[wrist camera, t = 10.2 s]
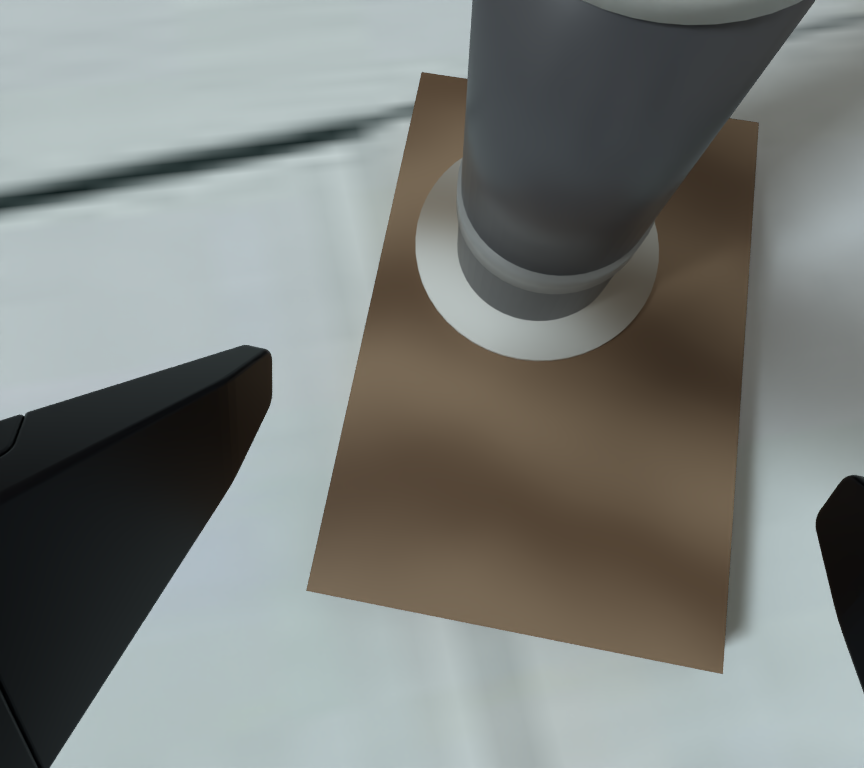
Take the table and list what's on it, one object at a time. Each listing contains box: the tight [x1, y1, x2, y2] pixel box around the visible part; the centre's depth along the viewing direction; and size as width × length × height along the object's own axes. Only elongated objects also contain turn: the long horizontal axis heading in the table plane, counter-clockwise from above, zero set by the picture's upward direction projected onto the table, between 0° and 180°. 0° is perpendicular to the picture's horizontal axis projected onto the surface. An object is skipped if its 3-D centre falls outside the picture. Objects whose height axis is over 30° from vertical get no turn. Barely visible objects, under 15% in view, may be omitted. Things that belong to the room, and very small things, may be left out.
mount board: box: [306, 72, 759, 674], centre depth 19 cm, size 18×12×2 cm, turn 169°
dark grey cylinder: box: [456, 0, 815, 321], centre depth 12 cm, size 5×5×13 cm
